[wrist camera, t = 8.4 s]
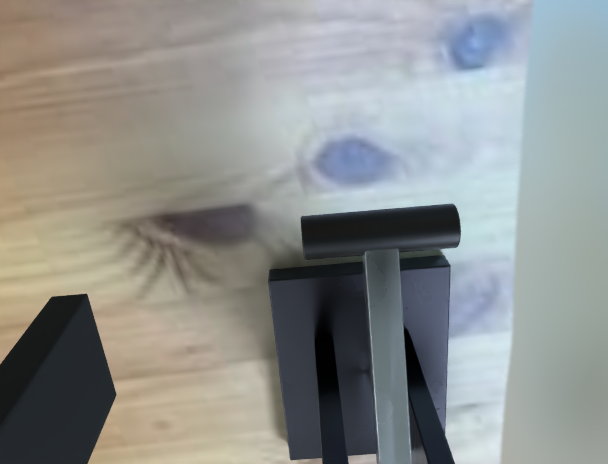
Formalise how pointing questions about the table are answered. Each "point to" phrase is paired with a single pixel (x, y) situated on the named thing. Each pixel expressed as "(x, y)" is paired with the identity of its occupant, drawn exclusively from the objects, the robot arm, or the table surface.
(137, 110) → the table surface
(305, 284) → the bracket
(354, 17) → the table surface
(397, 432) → the lever
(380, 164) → the table surface
